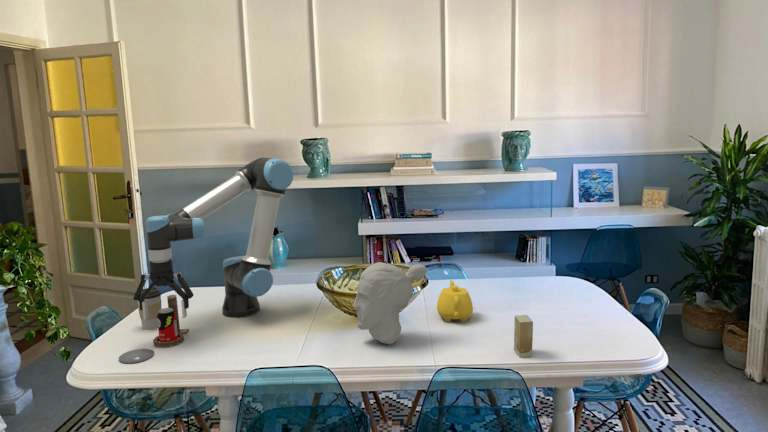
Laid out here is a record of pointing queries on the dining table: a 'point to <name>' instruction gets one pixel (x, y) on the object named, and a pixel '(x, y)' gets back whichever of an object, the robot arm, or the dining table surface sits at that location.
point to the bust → (384, 298)
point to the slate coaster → (136, 356)
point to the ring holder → (181, 332)
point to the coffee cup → (151, 309)
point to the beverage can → (167, 325)
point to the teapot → (454, 303)
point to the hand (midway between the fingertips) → (165, 317)
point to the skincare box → (523, 336)
